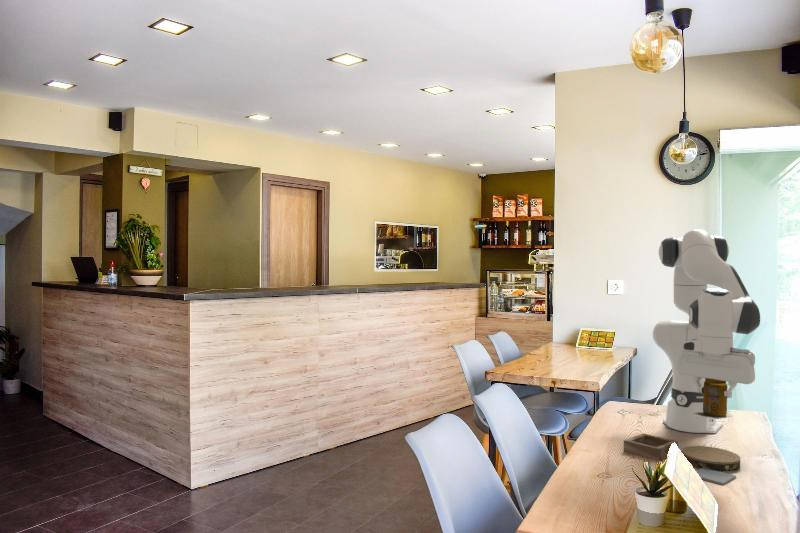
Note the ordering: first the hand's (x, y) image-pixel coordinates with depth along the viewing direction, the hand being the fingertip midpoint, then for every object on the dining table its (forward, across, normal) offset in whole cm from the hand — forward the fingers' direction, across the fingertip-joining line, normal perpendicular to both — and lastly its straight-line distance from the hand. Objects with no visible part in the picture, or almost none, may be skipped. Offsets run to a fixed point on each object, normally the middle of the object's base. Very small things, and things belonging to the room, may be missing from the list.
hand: (714, 395), depth 177 cm
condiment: (+6, 0, 0) cm, 6 cm away
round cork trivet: (+24, +6, -13) cm, 28 cm away
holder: (+23, +22, -8) cm, 33 cm away
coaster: (+23, 0, 0) cm, 23 cm away
